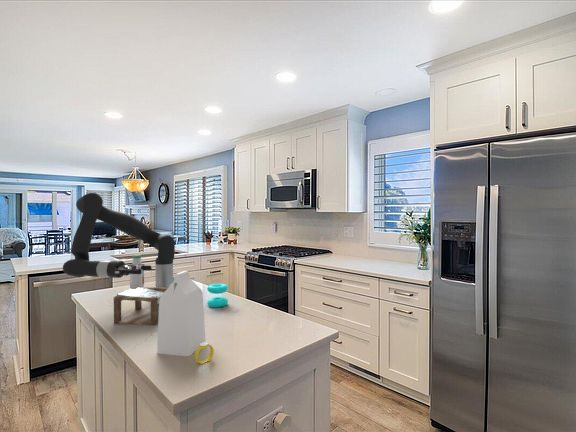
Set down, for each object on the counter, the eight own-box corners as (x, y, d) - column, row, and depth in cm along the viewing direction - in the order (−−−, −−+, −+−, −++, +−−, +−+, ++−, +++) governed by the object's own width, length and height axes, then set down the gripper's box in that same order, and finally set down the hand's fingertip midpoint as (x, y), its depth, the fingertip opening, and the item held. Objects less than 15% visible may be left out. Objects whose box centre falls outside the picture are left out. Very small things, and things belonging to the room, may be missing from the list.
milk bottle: (140, 289, 192) (140, 256, 192) (127, 289, 192) (127, 256, 192) (146, 286, 200) (146, 254, 199) (133, 286, 200) (133, 254, 199)
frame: (113, 323, 136) (113, 297, 135) (137, 310, 154) (137, 286, 153) (155, 324, 134) (155, 298, 134) (174, 311, 152) (174, 287, 152)
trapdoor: (114, 300, 138) (115, 293, 138) (131, 292, 151) (132, 286, 151) (151, 307, 137) (152, 300, 136) (166, 299, 150) (166, 292, 150)
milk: (188, 356, 105) (188, 276, 105) (157, 353, 108) (156, 275, 107) (205, 341, 117) (205, 269, 117) (176, 339, 119) (176, 268, 119)
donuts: (218, 282, 169) (232, 284, 163) (218, 301, 169) (232, 304, 163) (203, 285, 161) (216, 288, 155) (203, 305, 161) (216, 309, 155)
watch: (198, 367, 99) (197, 348, 98) (193, 364, 100) (192, 346, 100) (215, 359, 103) (214, 341, 102) (210, 357, 105) (209, 339, 104)
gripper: (100, 263, 137) (137, 263, 136) (120, 258, 152) (154, 258, 150) (100, 280, 138) (137, 281, 136) (120, 274, 152) (154, 275, 151)
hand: (146, 269), depth 143 cm, fingers open, 8 cm apart
